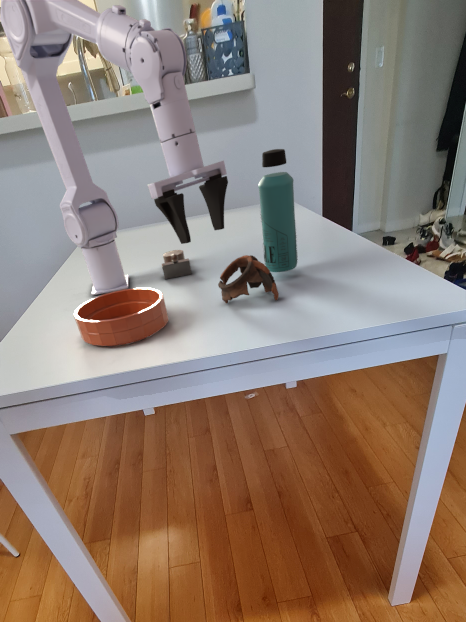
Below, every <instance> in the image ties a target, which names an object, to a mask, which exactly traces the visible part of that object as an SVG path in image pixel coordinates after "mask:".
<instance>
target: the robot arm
mask: <svg viewBox="0 0 466 622" xmlns="http://www.w3.org/2000/svg"><path fill="white" fill-rule="evenodd" d="M0 24H1V26H2V28H3V29H2V30H3V31H4V34H5V37H6V39H7V42H8V44H9V48H10V50H11V52H12V55H13V58H14V60H15V63H16V65H17V67H18V69H20V71H21V75H22V76H23V80H24V83H25V85H26V88H27V90H28V93H29V95H30V98H31V100H32V103H33V106H34V108H35V111H36V113H37V116H38V120H39V121H40V124H41V127H42V129H43V132H44V135H45V138H46V141H47V143H48V147H49V148H50V151H51V153H52V156H53V159H54V161H55V163H56V167H57V169H58V172H59V174H60V177H61V180H62V182H63V185H64V188H65V190H66V191H65V193H64V195H63V197H62V199H61V201H60V203H59V209H60V211H61V214H62V220H63V226H64V230H65V233H66V234H67V236H68V238H69V239H70V240H71V241H72V243H73V244H75V245H76V247H77V248H80V249H81V252H82V255H83V259H84V261H85V265H86V268H87V271H88V274H89V277H90V279H91V283H92V289H91V293H90V294H91V296H96V295H103V294H107V293H111V292H114V291H119V290H125V289H129V286H130V285H129V284H130V275H129V274H125V271H124V268H123V264H122V260H121V257H120V253H119V250H118V246H117V243H116V239H117V238H118V235H117V233H118V230H119V226H120V224H119V217H118V214H117V211H116V209H115V208H114V206H113V205H112V203H111V201H110V199H109V196H108V194H107V191H105V190H104V189H102V187H100V186H98V185H97V184H95V183H94V182H93V179H92V176H91V173H90V169H89V167H88V164H87V162H86V159H85V156H84V152H83V150H82V147H81V145H80V142H79V139H78V135H77V132H76V130H75V126H74V124H73V121H72V118H71V115H70V112H69V110H68V107H67V103H66V100H65V98H64V94H63V92H62V89H61V87H60V84H59V81H58V77H57V76H58V75H57V73H58V71H59V66H61V65H62V64H63V62H64V59H66V58H65V57H66V55H67V53H68V51H69V49H70V47H71V44H72V42H73V40H74V36H75V37H78V38H79V39H83V40H85V41H88V42H90V43H92V44H94V45H96V46H97V48H98V51H99V53H100V55H101V56H102V58H103V59H104V60H105V61H107V62H109V63H111V64H113V65H115V66H117V67H118V68H120V69H123V70H125V71H126V72H128V73H130V74H132V76H133V79H134V81H135V82H136V83H137V84H138V86H139V87H140V88H141V90H142V93H143V96H144V100H145V102H146V101H147V104H148V105H149V106H150V107H149V108H150V110H151V113H152V118H153V121H154V124H155V125H154V126H155V129H156V132H157V135H158V139H159V142H160V146H161V151H162V154H163V158H164V161H165V164H166V168H167V172H168V176H169V177H167V178H165V179H161V180H157V181H155V182H151V183H148V184H147V188H148V192H149V195H150V197H151V200H153V201H154V204H155V207H156V208H157V209H158V210H159V211H160V212H161V213H162V215H163V216H164V217H165V218H166V219H167V221H168V222H169V224H170V225H171V227H172V229H173V230H174V233H175V234H176V236H177V238H178V240H179V242H180V244H182V245H184V244H185V245H186V244H189V243H191V241H192V238H191V234H190V229H189V225H188V221H187V217H186V212H185V211H186V210H185V198H184V197H185V195H184V193H182V192H181V193H178V192H177V191H181V190H183V189H186V188H189V187H191V186H195V185H198V184H201V183H202V184H201V185H199V186H198V189H199V191H200V192H201V195H202V197H203V199H204V201H205V204H206V207H207V210H208V214H209V217H210V221H211V224H212V227H213V230H214V231H219V230H220V231H221V230H224V229H225V201H226V200H225V199H226V194H227V188H228V184H229V180H228V176H227V169H226V164H225V160H221V161H218V162H215V163H212V164H207V165H205V164H204V161H203V158H202V157H203V156H202V153H201V148H200V144H199V140H198V136H197V132H196V127H195V123H194V119H193V114H192V110H191V106H190V101H189V97H188V93H187V88H186V85H185V79H184V76H185V74H186V71H187V65H188V64H187V61H188V60H187V57H188V56H187V52H186V51H187V50H186V47H185V45H184V42H183V40H182V38H181V37H180V35H179V34H178V33H177V32H175V31H174V30H173V29H172V28H171V27H163V28H162V29H160V30H155V28H154V27H152V23H151V21H150V20H149V19H146V18H141V19H136V18H134V17H132V16H131V15H128V14H127V8H126V7H124V6H123V5H120V4H113V5H111V7H108V8H106V9H104V10H103V11H102V12H101V13H100V12H99V11H97V10H95V9H93V8H92V7H91V6H88V5H87V4H85V3H83V2H82V1H80V0H0ZM191 178H194V179H195V180H193V181H190V182H187V183H184V181H185V180H188V179H191ZM86 203H90V204H87V205H84V206H81V205H82V204H86Z"/></svg>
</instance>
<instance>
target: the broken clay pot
mask: <svg viewBox="0 0 466 622" xmlns="http://www.w3.org/2000/svg"><path fill="white" fill-rule="evenodd" d="M238 270H239V272H240V275H239V276H238V277H237V278H236V279H234V280H232V282H231V281H230V282H229V279H230V278H231V277H232V276H234V274H236V272H237V271H238ZM219 279H220V280H219V282H218V284H217V286H218V288H219V289H220V290H221V293H220V294H221V299H222V301H223V302H224V303H225V304H228V303H229V301H233V300H234V299H238V298H239V297H240V296H250V293H249V289H248V286H249V288H250V289H254V288H256V289H257V288H259V287H260V286H263V289H264V293H272V294H273V298H274V300H275V301H278V300H279V296H280V295H279V291H278V287H277V283H276V281H275V279H274V276H273V273H272V272H270V270H269V269H268V268H267V267H266V265H265V263H263V262H261V261H259V259H258V258H256V256H254V255H251V254H249V255H248V254H245V255H242V256H240V257H237V258H236V259H234V260H233V261H231V262H230V264H229V265H227V266H226V268H224V270H223V271H222V273H221V274H220V276H219ZM228 282H229V283H228Z"/></svg>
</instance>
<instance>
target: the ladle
mask: <svg viewBox="0 0 466 622" xmlns="http://www.w3.org/2000/svg"><path fill="white" fill-rule="evenodd" d="M162 258H163V263H168V262H173V261H174V262H176V261H178V260H183V259H186V258H185V253H184V250H182V249H175V250H174V249H173V250H170V251H166V252H164V253H163V254H162Z"/></svg>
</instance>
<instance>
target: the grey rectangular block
mask: <svg viewBox="0 0 466 622" xmlns="http://www.w3.org/2000/svg"><path fill="white" fill-rule="evenodd" d="M190 262H191V261H190V259H189V258H185V259H183V260H178V261H176V262H174V261H173V262H168V263H165V262H163V263H161V268H162V269H161V270H162V273H163V277H164V280H169V279H174V278H179V277H185V276H188V275H192V267H191V263H190Z"/></svg>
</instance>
